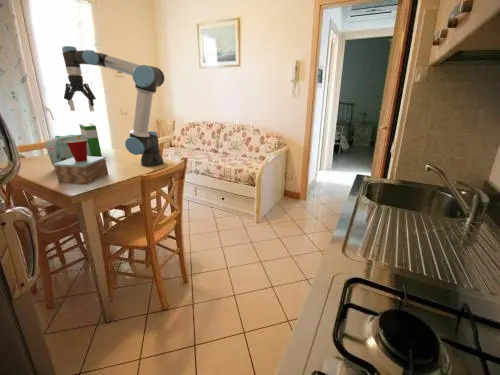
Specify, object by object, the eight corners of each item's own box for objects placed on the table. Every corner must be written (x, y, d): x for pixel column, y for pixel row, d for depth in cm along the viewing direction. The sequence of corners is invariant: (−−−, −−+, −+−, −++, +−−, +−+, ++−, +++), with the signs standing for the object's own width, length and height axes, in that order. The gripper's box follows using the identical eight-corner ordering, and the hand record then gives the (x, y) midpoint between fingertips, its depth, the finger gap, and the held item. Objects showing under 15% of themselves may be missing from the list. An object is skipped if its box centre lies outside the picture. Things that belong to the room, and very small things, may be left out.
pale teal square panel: (106, 158, 157) (105, 157, 157) (83, 167, 140) (83, 165, 140) (78, 157, 160) (78, 155, 159) (53, 165, 143) (53, 164, 142)
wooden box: (108, 174, 161) (105, 159, 157) (87, 184, 144) (83, 167, 140) (82, 173, 163) (78, 158, 160) (58, 182, 146) (54, 165, 143)
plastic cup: (87, 157, 157) (83, 137, 152) (95, 160, 150) (90, 139, 146) (67, 160, 149) (61, 139, 144) (74, 164, 143) (68, 142, 138)
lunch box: (63, 171, 167) (54, 138, 160) (50, 170, 169) (41, 137, 162) (94, 160, 192) (88, 131, 184) (82, 160, 194) (75, 131, 186)
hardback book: (85, 153, 212) (79, 124, 204) (95, 152, 217) (89, 123, 208) (91, 157, 200) (84, 126, 191) (101, 156, 205) (95, 125, 196)
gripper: (51, 74, 156) (60, 111, 164) (88, 74, 153) (96, 111, 160) (61, 75, 163) (69, 110, 171) (97, 75, 160) (104, 110, 167)
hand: (82, 111), depth 165 cm, fingers open, 13 cm apart
